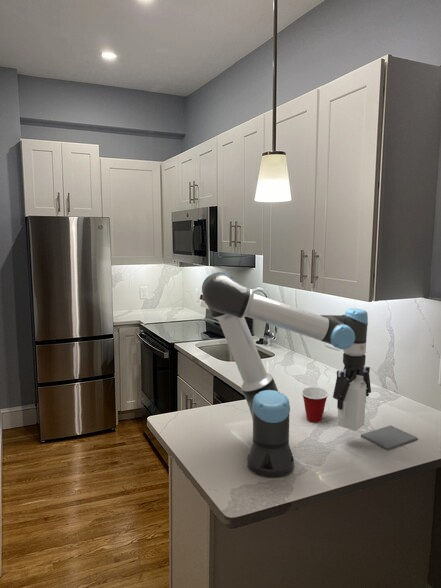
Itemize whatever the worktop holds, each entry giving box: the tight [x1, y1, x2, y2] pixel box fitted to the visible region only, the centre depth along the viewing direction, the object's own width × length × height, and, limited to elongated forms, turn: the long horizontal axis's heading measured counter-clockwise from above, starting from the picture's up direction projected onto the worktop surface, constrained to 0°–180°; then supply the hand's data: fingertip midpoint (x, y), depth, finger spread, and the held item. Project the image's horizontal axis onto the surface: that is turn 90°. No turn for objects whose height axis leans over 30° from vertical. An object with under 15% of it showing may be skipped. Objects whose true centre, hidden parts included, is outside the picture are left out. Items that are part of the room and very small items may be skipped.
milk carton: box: [336, 375, 367, 432], centre depth 158 cm, size 7×7×19 cm
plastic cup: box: [300, 386, 330, 424], centre depth 179 cm, size 11×11×12 cm
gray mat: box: [360, 424, 419, 451], centre depth 164 cm, size 16×12×1 cm
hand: (351, 415), depth 159 cm, fingers closed on milk carton, 9 cm apart
